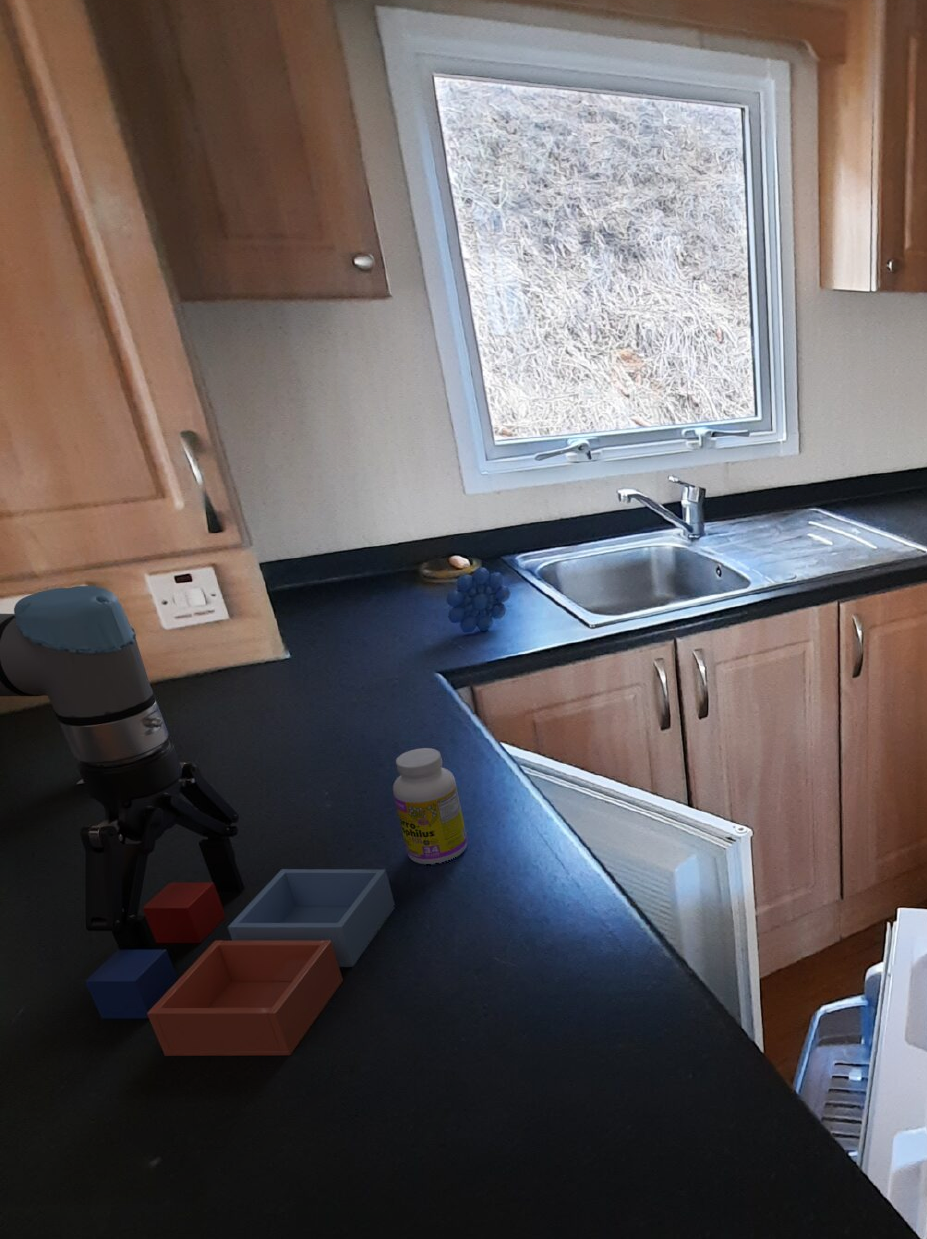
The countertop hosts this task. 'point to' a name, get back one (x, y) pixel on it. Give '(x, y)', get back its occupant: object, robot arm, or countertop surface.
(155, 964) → the blue block
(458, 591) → the blue sphere cluster
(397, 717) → the countertop surface
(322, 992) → the red bin
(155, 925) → the red block
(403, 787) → the supplement bottle
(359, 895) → the blue bin
